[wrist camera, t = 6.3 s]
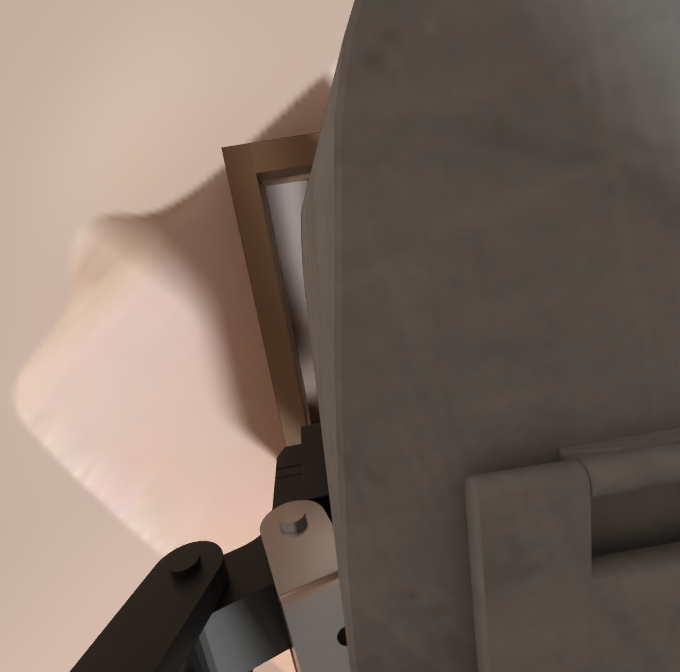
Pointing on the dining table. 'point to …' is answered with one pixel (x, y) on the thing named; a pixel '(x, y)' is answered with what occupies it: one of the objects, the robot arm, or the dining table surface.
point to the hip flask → (501, 333)
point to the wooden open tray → (272, 260)
